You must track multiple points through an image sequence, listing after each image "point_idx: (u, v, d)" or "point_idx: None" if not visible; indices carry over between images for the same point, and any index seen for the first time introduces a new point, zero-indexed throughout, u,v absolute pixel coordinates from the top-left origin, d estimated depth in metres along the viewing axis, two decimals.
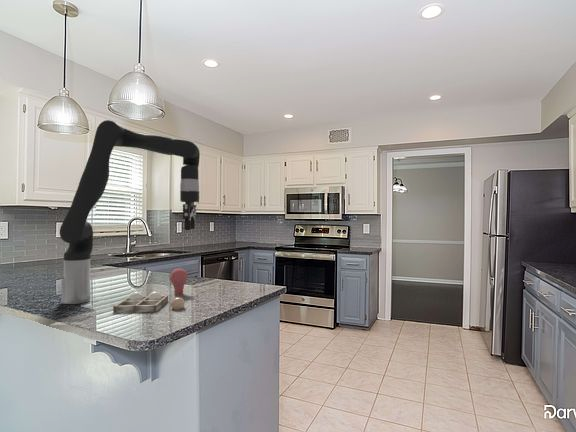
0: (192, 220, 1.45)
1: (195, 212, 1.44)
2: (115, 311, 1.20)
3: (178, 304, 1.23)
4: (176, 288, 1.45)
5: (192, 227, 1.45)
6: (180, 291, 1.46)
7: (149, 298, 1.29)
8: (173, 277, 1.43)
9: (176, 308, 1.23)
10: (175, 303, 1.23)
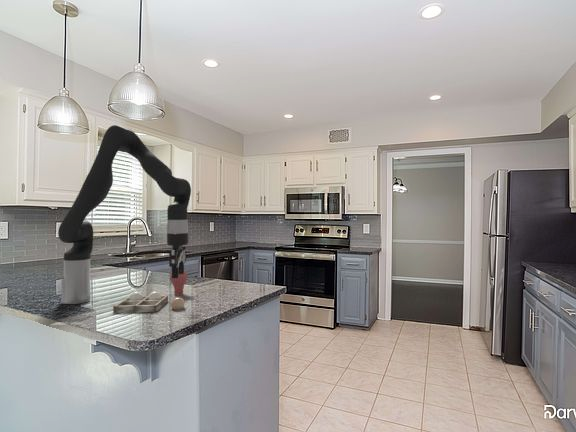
0: (181, 264, 1.29)
1: (184, 255, 1.28)
2: (115, 311, 1.20)
3: (178, 304, 1.23)
4: (176, 288, 1.45)
5: (181, 272, 1.29)
6: (180, 291, 1.46)
7: (149, 298, 1.29)
8: None
9: (176, 308, 1.23)
10: (175, 303, 1.23)
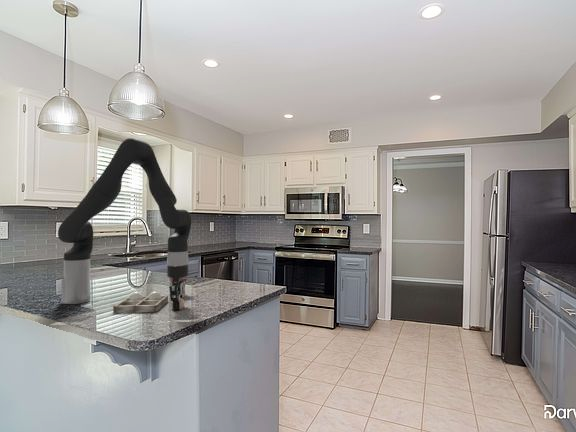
0: None
1: (184, 288, 1.28)
2: (115, 311, 1.20)
3: None
4: None
5: None
6: None
7: (149, 298, 1.29)
8: None
9: None
10: None
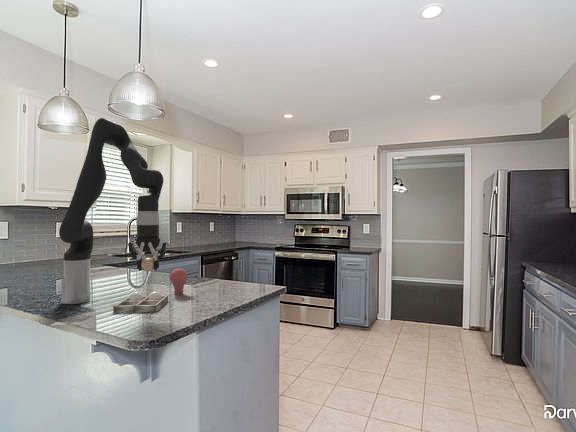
0: None
1: (153, 250, 1.23)
2: (115, 311, 1.20)
3: (141, 263, 1.23)
4: (176, 288, 1.45)
5: None
6: (180, 291, 1.46)
7: (149, 298, 1.29)
8: (173, 277, 1.43)
9: None
10: None
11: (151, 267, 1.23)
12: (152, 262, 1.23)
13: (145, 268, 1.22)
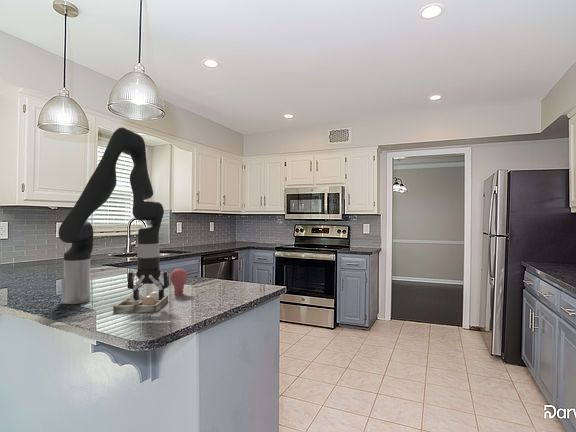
0: None
1: (156, 281, 1.23)
2: (115, 311, 1.20)
3: None
4: (176, 288, 1.45)
5: None
6: (180, 291, 1.46)
7: None
8: (173, 277, 1.43)
9: None
10: None
11: None
12: (153, 300, 1.23)
13: None
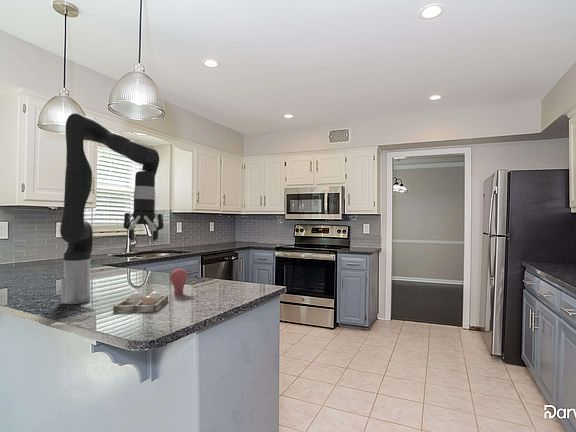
0: None
1: (150, 222, 1.30)
2: (115, 311, 1.20)
3: None
4: (176, 288, 1.45)
5: None
6: (180, 291, 1.46)
7: None
8: (173, 277, 1.43)
9: None
10: None
11: None
12: (153, 300, 1.23)
13: None
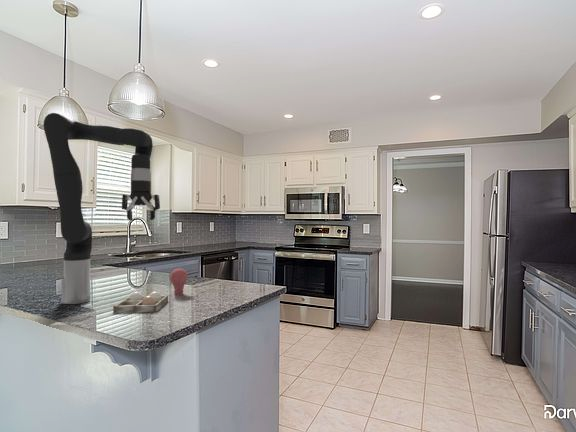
0: None
1: (147, 202, 1.36)
2: (115, 311, 1.20)
3: None
4: (176, 288, 1.45)
5: None
6: (180, 291, 1.46)
7: None
8: (173, 277, 1.43)
9: None
10: None
11: None
12: (153, 300, 1.23)
13: None
